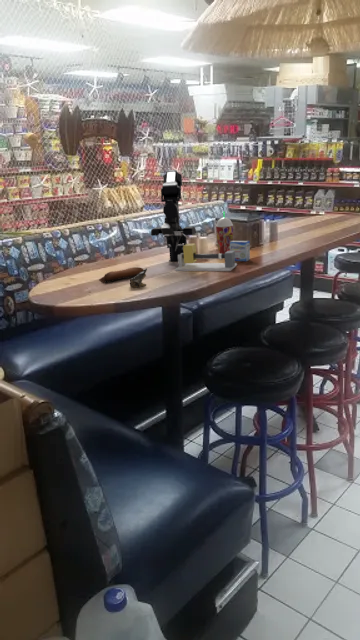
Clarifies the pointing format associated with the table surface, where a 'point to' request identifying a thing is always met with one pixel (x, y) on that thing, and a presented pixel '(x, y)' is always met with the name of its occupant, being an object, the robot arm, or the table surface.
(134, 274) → the sweet potato
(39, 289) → the table surface
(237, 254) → the medicine box
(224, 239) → the smoothie
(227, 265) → the cord rig
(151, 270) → the table surface
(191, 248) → the sleeve
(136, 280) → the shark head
